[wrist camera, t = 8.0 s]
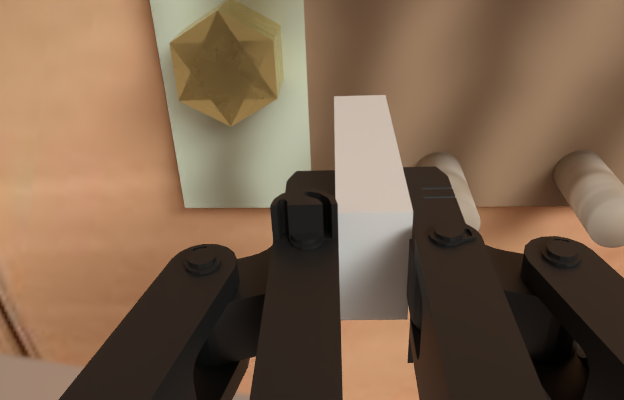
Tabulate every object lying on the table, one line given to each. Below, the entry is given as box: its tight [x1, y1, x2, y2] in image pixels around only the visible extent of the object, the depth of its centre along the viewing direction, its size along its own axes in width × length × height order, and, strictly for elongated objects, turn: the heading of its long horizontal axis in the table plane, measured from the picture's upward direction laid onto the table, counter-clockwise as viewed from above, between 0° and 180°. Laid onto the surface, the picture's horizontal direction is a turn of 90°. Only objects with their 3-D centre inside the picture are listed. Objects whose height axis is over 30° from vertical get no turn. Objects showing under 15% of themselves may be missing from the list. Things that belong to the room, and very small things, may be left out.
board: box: [150, 0, 624, 248], centre depth 25 cm, size 23×17×6 cm
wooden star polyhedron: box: [169, 0, 284, 127], centre depth 26 cm, size 4×5×3 cm
